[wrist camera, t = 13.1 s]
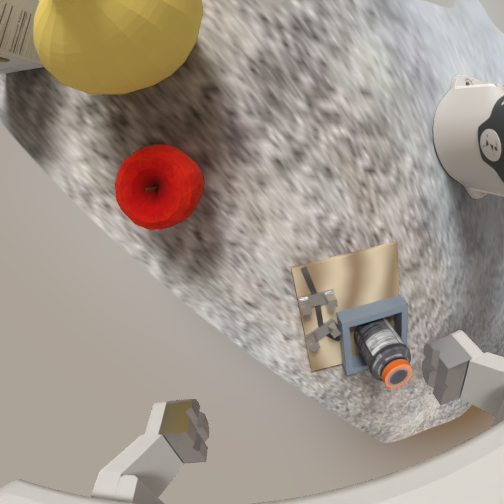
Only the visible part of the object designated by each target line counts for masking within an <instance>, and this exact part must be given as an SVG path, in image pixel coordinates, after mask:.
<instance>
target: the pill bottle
mask: <svg viewBox="0 0 504 504" xmlns="http://www.w3.org/2000/svg"><path fill="white" fill-rule="evenodd" d="M354 339H355V342H356V344H357V346H358V348H359V350H360V352H361V354H362V356H363V358H364V360H365V362H366V364H367V366H368V368H369V370H370V372H371V374H372V375H373V377H374V378H376V379H377V380H380V381H383V382H384V383H385V385H386V386H387V387H389V388H397V387H400V386H402V385H403V384H405V383H406V382H407V381H408V380H409V379H410V377H411V375H412V367H411V366H410V361H411V354H410V351H409V349H408V348H407V346H406V344H405V343H404V342H403V340H402V339H401V338H400V336H399V335H398V333H397V332H396V331H395V329H394V328H393V327H392V325H391V324H390V322H389V321H388V320H387V319H386V318H385V317H384V318H381V319H377V320H374V321H371V322H367V323H364V324H360V325H358V326H357V327H356V329H355V332H354Z"/></svg>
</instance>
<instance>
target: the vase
mask: <svg viewBox="0 0 504 504" xmlns="http://www.w3.org/2000/svg"><path fill="white" fill-rule="evenodd" d="M202 15H203V6H202V0H40V1H39V4H38V7H37V10H36V13H35V16H34V27H33V40H34V45H35V48H36V50H37V53H38V56H39V58H40V61H41V63H42V65H43V66H44V67H45V68H46V69H47V70H48V71H49V72H50V73H51V74H52V75H53V76H54V77H55V78H56V79H57V80H58V81H59V82H60V83H62V84H64V85H66V86H69V87H71V88H74V89H77V90H80V91H83V92H85V93H88V94H126V93H130V92H133V91H136V90H140V89H143V88H147V87H150V86H153V85H155V84H157V83H159V82H160V81H162V80H164V79H165V78H167V77H169V76H171V75H172V74H173V73H174V72H175V71H176V70H177V69H178V68H179V67H180V66H181V65H182V64H183V63H184V62H185V61H186V59H187V57H188V55H189V54H190V52H191V50H192V49H193V47H194V45H195V43H196V41H197V38H198V33H199V29H200V24H201V20H202Z"/></svg>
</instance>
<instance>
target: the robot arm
mask: <svg viewBox="0 0 504 504" xmlns="http://www.w3.org/2000/svg"><path fill="white" fill-rule="evenodd" d="M466 83H467V85H466ZM433 135H434V143H435V148H436V151H437V154H438V157H439V159H440V162H441V163H442V165H443V167H444V168H445V170H446V171H447V172H448V174H449V175H450V176H451V177H452V178H454V179H455V180H456V181H458V182H459V183H461V184H462V185H463V186H464V187H465V189H466V191H467V192H468V194H469V195H470V197H471V198H473V199H480V198H482V197H484V196H486V195H488V194H494V195H498V196H502V197H504V85H503V84H499V83H495V84H489V83H486V82H483V81H480V80H477V79H474V78H471V77H467V76H464V75H455V76H454V78H453V80H452V84H451V88H450V90H449V92H448V93H447V95H446V96H445V97H444V98H443V99H442V100H441V102H440V104H439V105H438V108H437V110H436V113H435V117H434V125H433ZM423 353H424V354H425V355H426V357H425V359H424V360H423V362H422V372H423V377H424V379H425V381H426V383H427V384H428V385H429V386H431V387H434V391H433V394H434V396H435V397H436V399H437V400H438V402H439V404H440V405H442V404H445V403H447V402H450V401H452V400H454V399H457V398H459V397H460V398H461V399H463V400H465V401H466V402H468V403H470V404H472V405H474V406H476V407H478V408H480V409H482V410H483V411H485V412H487V413H489V414H491V415H493V416H495V417H496V419H495V420H494V423H493V425H492V427H491V428H489V429H488V430H486V431H484V432H482V433H481V434H479V435H477V436H475V437H473V438H471V439H469V440H467V441H466V442H463V443H461V444H460V445H458V446H455V447H453V448H451V449H449V450H447V451H445V452H443V453H441V454H438V455H436V456H434V457H432V458H429V459H427V460H424V461H422V462H420V463H417V464H415V465H412V466H410V467H407V468H404V469H401V470H399V471H396V472H393V473H390V474H387V475H385V476H381V477H378V478H375V479H372V480H368V481H365V482H362V483H358V484H355V485H351V486H348V487H344V488H340V489H336V490H332V491H327V492H323V493H318V494H314V495H309V496H303V497H297V498H291V499H286V500H278V501H271V502H262V503H253V504H504V357H502V356H498V355H495V354H492V353H488V352H486V353H483V352H482V351H481V350H480V349H479V348H478V347H477V346H476V344H475V343H474V342H473V341H472V340H471V339H470V338H469V337H468V336H467V335H466V334H465V333H464V332H463V331H462V330H458V331H456V332H453V333H451V334H449V335H446V336H444V337H441V338H439V339H436V340H434V341H431V342H429V343H426V344H425V346H424V352H423ZM199 409H200V405H199V403H198V401H197V400H196V399H189V400H176V401H165V402H156V403H155V404H154V405H153V408H152V411H151V414H150V418H149V421H148V424H147V428H146V431H145V435H141V436H139V437H138V438H137V439H136V440H135V441H134V442H133V443H132V444H130V445H129V446H128V447H127V448H126V449H125V450H124V451H123V452H122V453H120V454H119V455H118V456H117V457H116V458H115V459H114V460H112V461H111V462H110V463H109V464H108V465H106V466H105V467H104V468H103V469H102V470H101V471H100V472H99V475H98V477H97V481H96V484H95V486H94V489H93V492H92V495H91V497H87V496H82V495H77V494H72V493H68V492H63V491H59V490H55V489H51V488H47V487H44V486H40V485H37V484H34V483H30V482H27V481H24V480H14V481H12V482H10V483H8V484H7V485H5V486H3V487H2V488H0V504H164V503H163V502H162V501H161V500H160V499H159V498H158V497H159V496H160V495H161V494H162V492H163V491H164V490H165V488H166V487H167V486H168V485H169V483H170V482H171V481H172V480H173V478H174V477H175V476H176V474H177V473H178V472H179V470H180V469H181V468H182V466H183V465H184V464H183V463H196V462H206V459H207V449H208V447H207V445H206V444H205V441H206V440H207V439H208V438H209V426H208V421H207V418H206V416H205V414H204V413H202V412H200V411H199Z"/></svg>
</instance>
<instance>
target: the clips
mask: <svg viewBox="0 0 504 504" xmlns="http://www.w3.org/2000/svg"><path fill="white" fill-rule="evenodd" d="M298 298H299V303H300V308H301V310H302V313H303V316H304V315H308V314H312V309H311V307H314V306H318V305H322V304H326V303H327V305H328V308H329V309H332V308H336V307H338V304H337V298H336V297H335V295H334V293H333V289H329V290H325V291H321V292H317V293H315V294H309V295H305V296H300V297H298ZM329 333H330V334H331V335H332V336H333V337H334V338H336V337H337V336H339V335H340V334H341V332H340V329H339V326H338V324H337V323H336V322H335V320H334V319H333V318H330V319H329V320H328V321H326V322H325V323H323V325H321V326H320V327H317V328H316V329H314V330H313V331H311V332H310V333H308V334H307V335H305V338H306V339H307V342H308V345H309V348H310V349H311V350H312V351H313V352H314V351H316V350H317V349H319V348H320V344H319V341H318V340H320V339H321V338H323V337H324V336H326V335H327V334H329Z"/></svg>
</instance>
